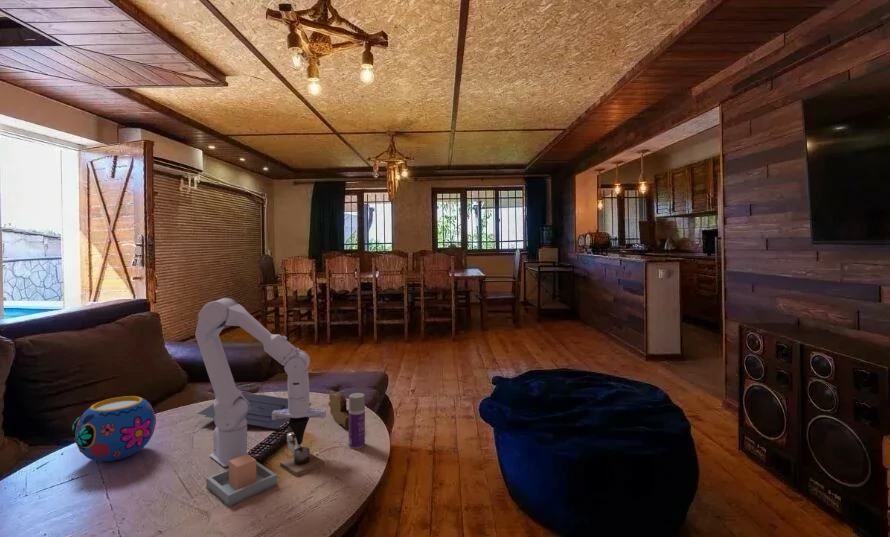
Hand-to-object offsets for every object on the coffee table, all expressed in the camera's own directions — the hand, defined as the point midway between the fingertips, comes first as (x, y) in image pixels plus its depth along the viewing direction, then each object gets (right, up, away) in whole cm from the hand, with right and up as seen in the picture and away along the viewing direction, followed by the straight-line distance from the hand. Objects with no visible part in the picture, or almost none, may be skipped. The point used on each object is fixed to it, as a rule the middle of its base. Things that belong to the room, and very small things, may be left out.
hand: (299, 443), depth 118 cm
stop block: (-8, -3, -16) cm, 19 cm away
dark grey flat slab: (-25, -2, +28) cm, 38 cm away
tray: (-8, -4, -16) cm, 19 cm away
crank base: (+3, -4, -6) cm, 7 cm away
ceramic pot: (-50, -3, -2) cm, 50 cm away
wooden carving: (+6, -3, +22) cm, 23 cm away
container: (+15, -3, +6) cm, 16 cm away
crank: (0, -2, -3) cm, 4 cm away
